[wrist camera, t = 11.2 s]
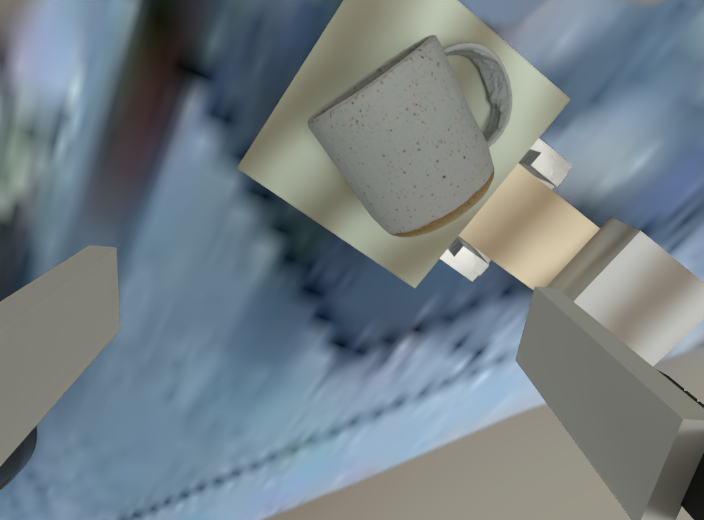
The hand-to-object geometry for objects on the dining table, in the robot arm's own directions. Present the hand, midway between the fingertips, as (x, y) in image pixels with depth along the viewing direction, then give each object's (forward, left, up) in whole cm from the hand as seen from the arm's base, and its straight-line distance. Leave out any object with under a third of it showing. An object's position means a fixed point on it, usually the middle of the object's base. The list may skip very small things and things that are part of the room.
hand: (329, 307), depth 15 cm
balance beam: (+12, 0, -18) cm, 22 cm away
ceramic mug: (+4, +5, -16) cm, 17 cm away
